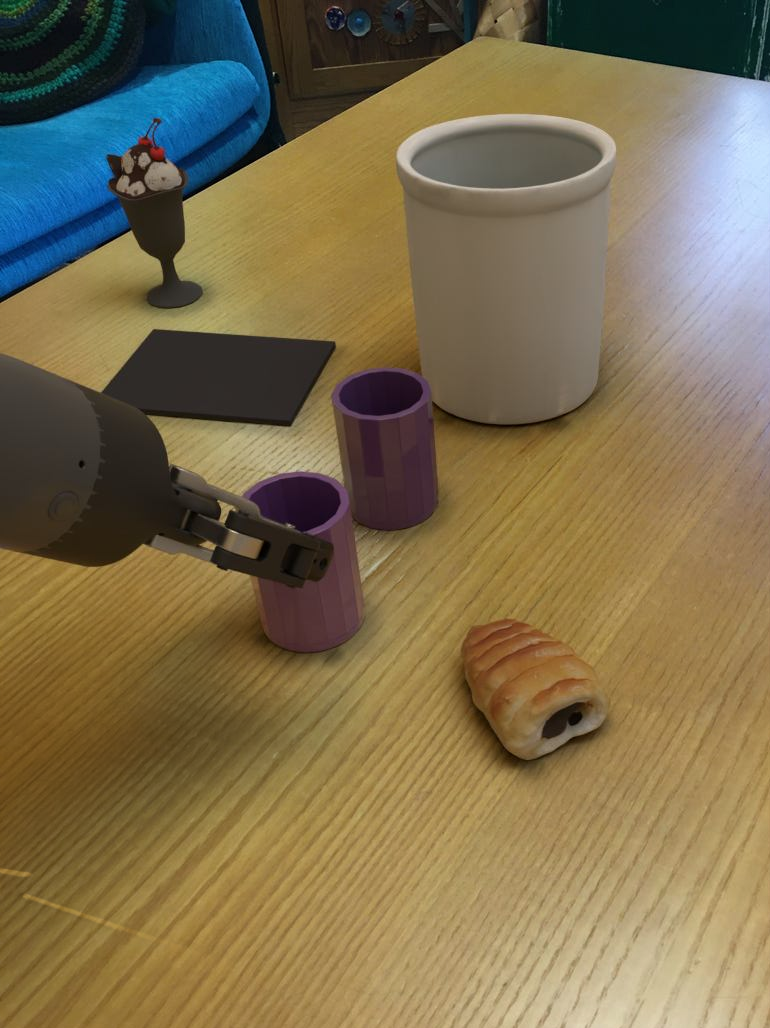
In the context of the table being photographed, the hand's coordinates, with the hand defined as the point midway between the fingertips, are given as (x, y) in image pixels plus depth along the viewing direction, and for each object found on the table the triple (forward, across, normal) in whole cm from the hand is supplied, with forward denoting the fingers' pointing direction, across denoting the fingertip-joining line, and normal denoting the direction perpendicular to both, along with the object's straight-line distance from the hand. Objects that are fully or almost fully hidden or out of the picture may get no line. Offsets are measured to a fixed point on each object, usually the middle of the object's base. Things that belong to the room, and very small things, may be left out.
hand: (264, 534), depth 60 cm
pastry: (+8, -15, +3) cm, 17 cm away
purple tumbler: (+16, +3, -4) cm, 17 cm away
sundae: (+25, +39, -14) cm, 48 cm away
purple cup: (+7, 0, +4) cm, 8 cm away
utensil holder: (+28, +6, -17) cm, 33 cm away
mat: (+20, +25, -8) cm, 33 cm away
